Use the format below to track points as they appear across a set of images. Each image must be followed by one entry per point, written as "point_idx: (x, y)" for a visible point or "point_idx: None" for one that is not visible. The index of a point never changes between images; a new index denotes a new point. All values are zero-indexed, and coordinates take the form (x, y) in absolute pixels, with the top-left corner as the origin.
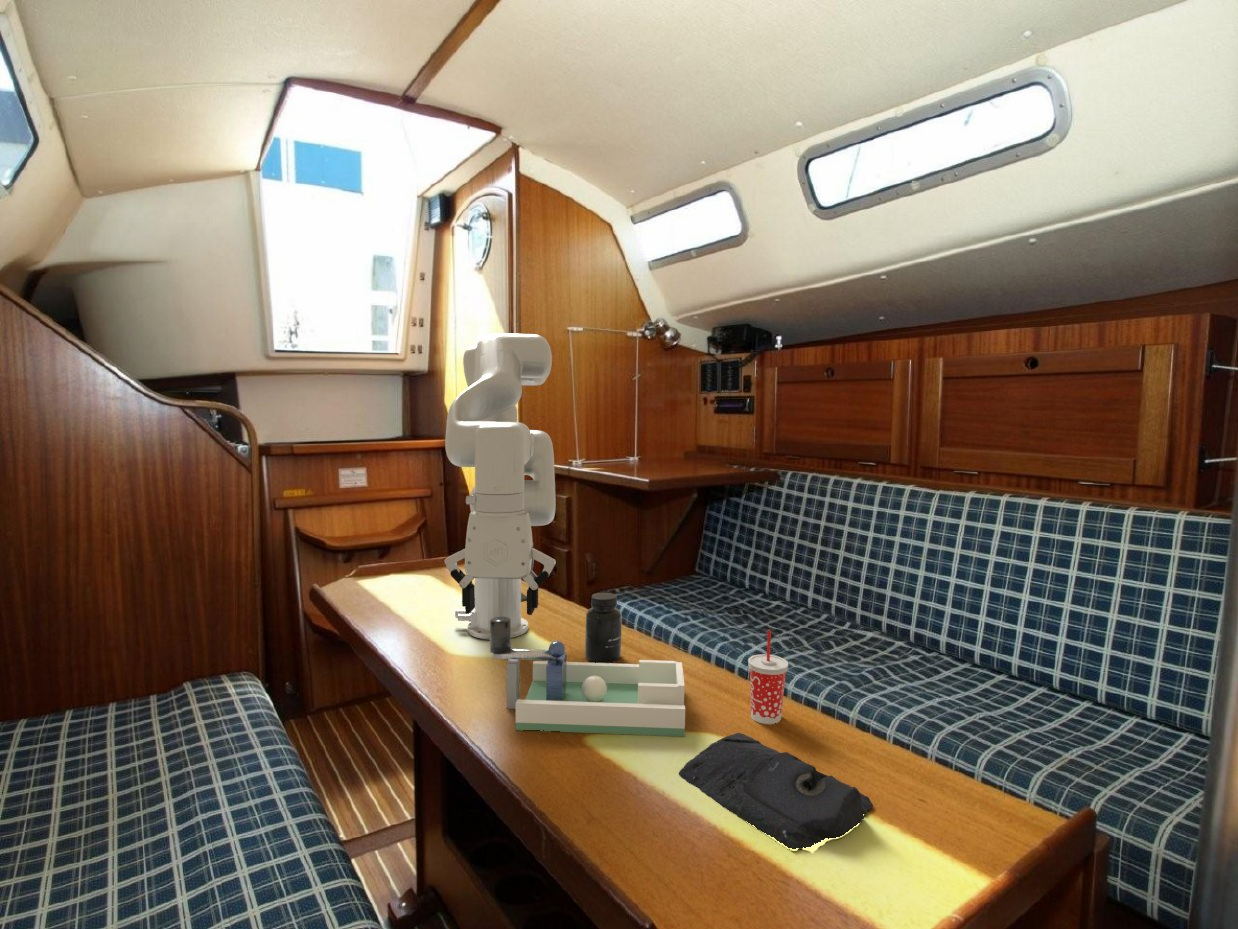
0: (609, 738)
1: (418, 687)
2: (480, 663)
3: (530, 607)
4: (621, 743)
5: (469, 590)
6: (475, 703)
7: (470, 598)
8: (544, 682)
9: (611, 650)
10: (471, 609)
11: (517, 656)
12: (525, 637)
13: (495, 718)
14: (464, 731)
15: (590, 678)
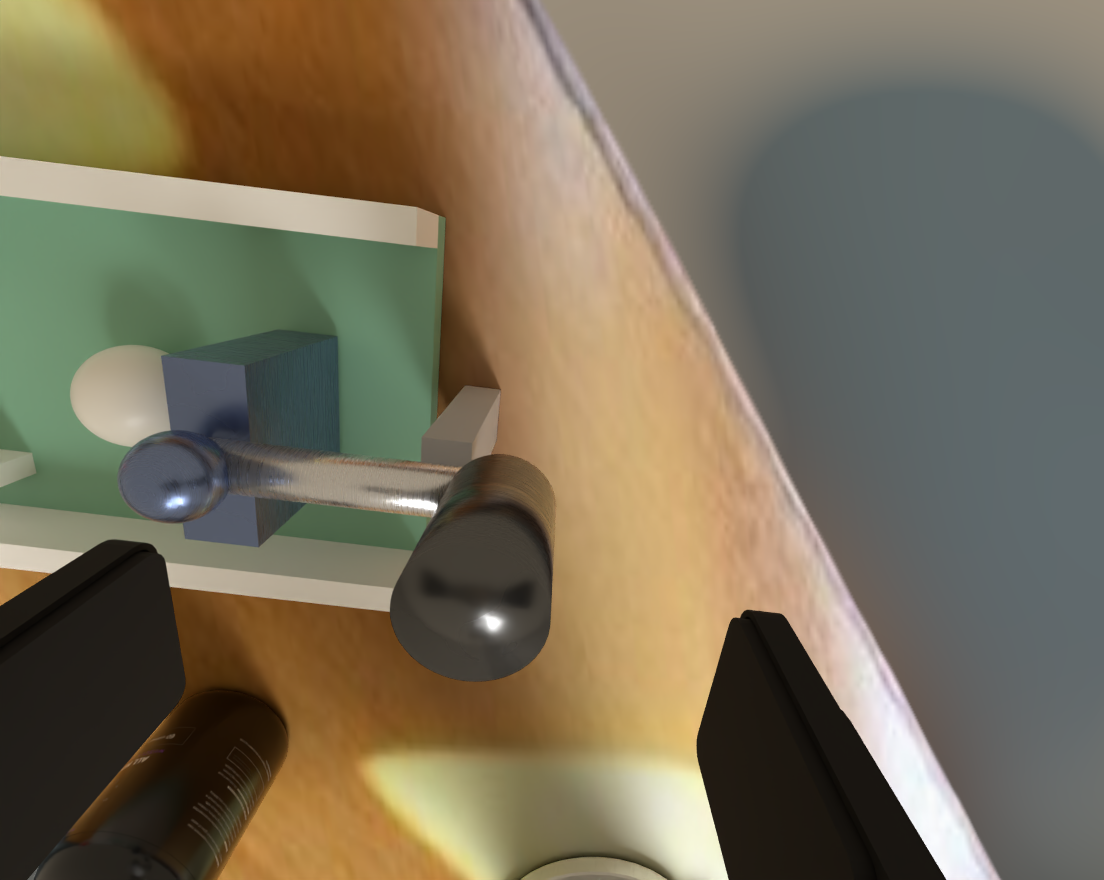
0: (93, 139)
1: (821, 558)
2: (627, 712)
3: (49, 578)
4: (40, 95)
5: (857, 867)
6: (614, 434)
7: (782, 759)
8: (380, 536)
9: (165, 727)
10: (725, 672)
11: (407, 460)
12: (503, 868)
13: (530, 317)
14: (631, 218)
15: (113, 400)
